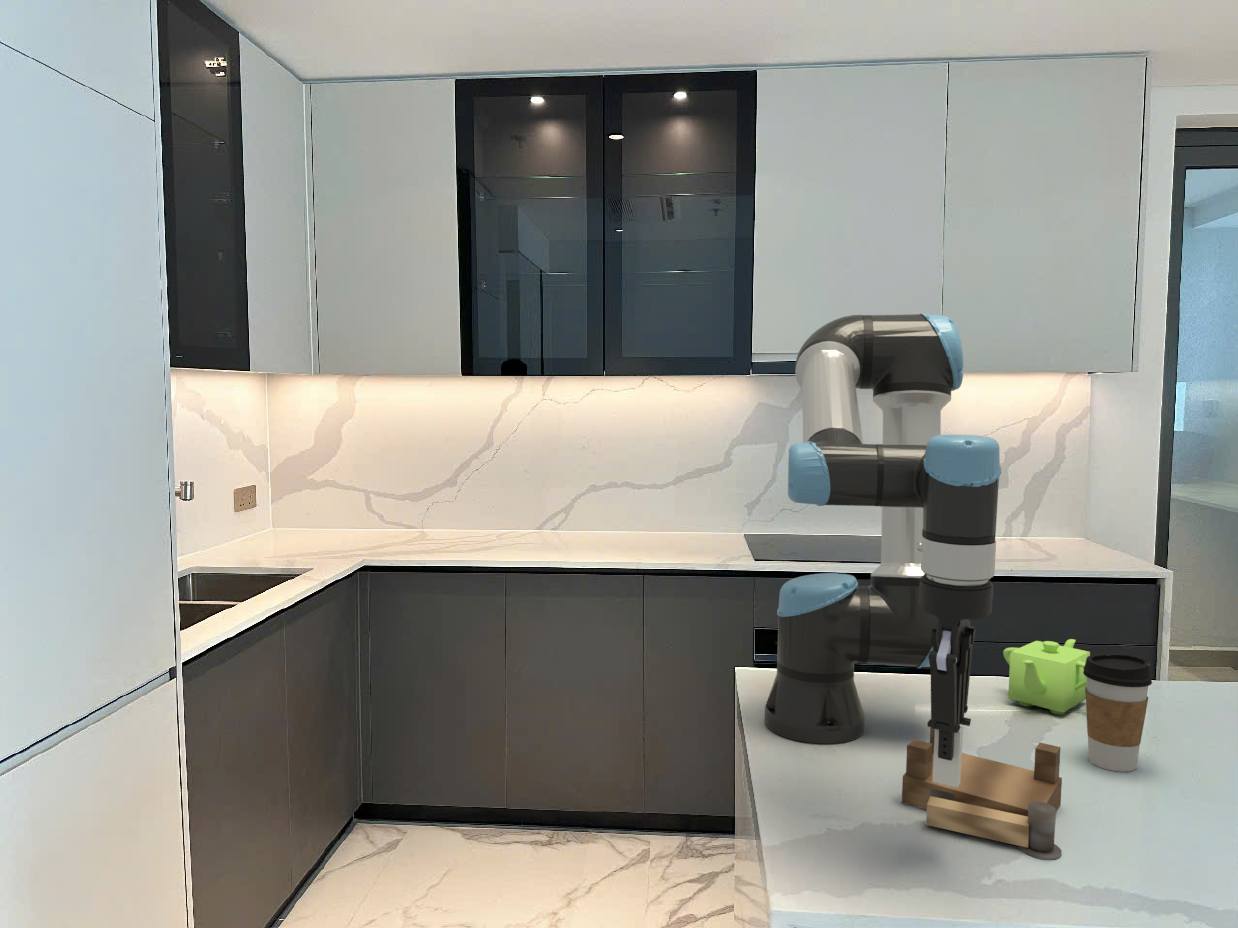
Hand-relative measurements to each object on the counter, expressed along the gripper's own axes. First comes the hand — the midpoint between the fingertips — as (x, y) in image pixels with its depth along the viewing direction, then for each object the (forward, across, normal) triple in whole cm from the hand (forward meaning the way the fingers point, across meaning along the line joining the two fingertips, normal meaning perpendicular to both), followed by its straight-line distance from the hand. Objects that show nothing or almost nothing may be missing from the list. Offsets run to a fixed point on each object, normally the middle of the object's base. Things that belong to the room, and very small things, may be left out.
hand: (946, 781), depth 99 cm
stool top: (+9, -12, +3) cm, 15 cm away
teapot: (+10, -59, +5) cm, 60 cm away
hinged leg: (+8, -6, +4) cm, 10 cm away
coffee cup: (+9, -38, +15) cm, 42 cm away
